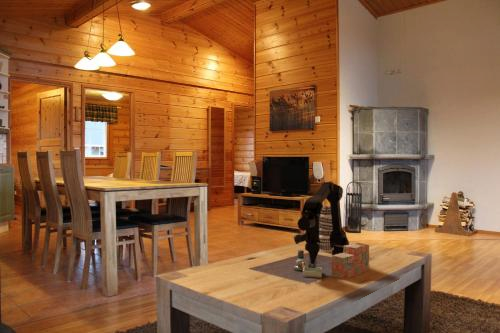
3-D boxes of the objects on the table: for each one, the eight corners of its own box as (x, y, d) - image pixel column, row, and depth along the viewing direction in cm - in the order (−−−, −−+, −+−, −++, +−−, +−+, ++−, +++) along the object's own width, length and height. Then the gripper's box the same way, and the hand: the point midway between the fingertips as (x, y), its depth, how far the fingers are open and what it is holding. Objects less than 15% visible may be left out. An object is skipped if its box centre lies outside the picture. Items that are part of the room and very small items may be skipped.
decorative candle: (317, 248, 249) (317, 205, 249) (333, 249, 248) (334, 205, 247) (317, 251, 240) (318, 206, 239) (334, 252, 239) (335, 207, 238)
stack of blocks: (343, 279, 186) (343, 250, 186) (331, 276, 191) (331, 248, 191) (368, 270, 202) (369, 244, 201) (357, 268, 206) (357, 242, 206)
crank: (303, 266, 200) (303, 255, 200) (296, 266, 200) (296, 255, 200) (304, 261, 211) (304, 250, 210) (297, 260, 211) (297, 250, 211)
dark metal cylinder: (316, 266, 194) (316, 250, 194) (316, 268, 191) (316, 252, 190) (308, 265, 195) (308, 250, 195) (308, 267, 191) (308, 252, 191)
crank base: (306, 268, 204) (306, 259, 204) (305, 271, 198) (306, 262, 198) (293, 267, 205) (293, 259, 205) (292, 270, 199) (292, 262, 199)
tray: (321, 272, 196) (321, 267, 196) (321, 277, 188) (321, 272, 188) (303, 271, 197) (303, 266, 197) (302, 276, 189) (302, 270, 189)
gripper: (296, 223, 203) (295, 256, 203) (293, 230, 184) (293, 266, 185) (320, 224, 201) (319, 258, 201) (319, 231, 183) (319, 268, 183)
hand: (312, 262), depth 193 cm, fingers closed on dark metal cylinder, 4 cm apart
